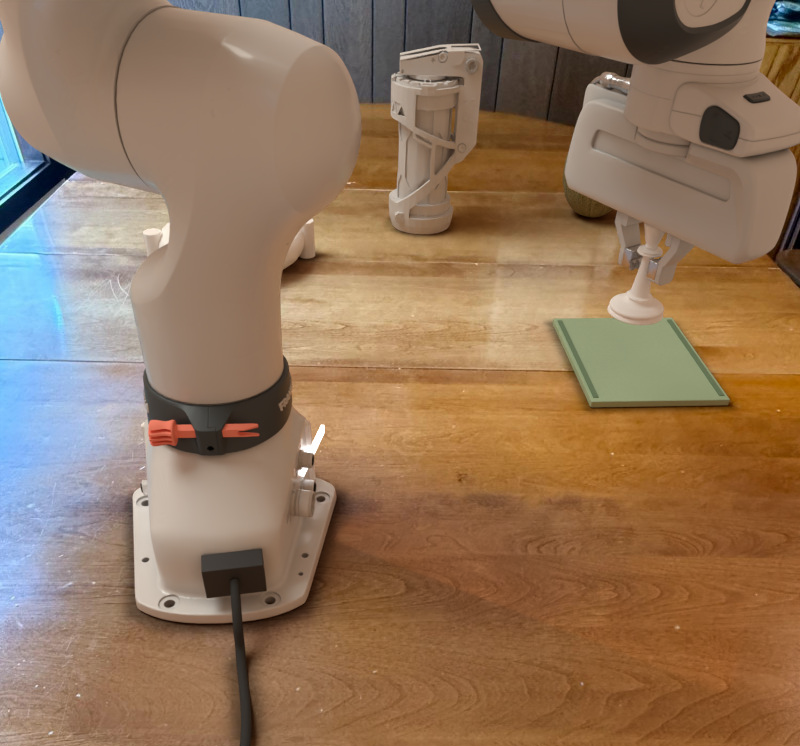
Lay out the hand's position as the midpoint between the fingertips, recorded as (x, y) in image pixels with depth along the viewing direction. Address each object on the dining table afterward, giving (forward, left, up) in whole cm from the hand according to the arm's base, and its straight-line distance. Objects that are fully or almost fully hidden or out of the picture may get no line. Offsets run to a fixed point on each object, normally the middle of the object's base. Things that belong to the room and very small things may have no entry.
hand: (644, 274), depth 67 cm
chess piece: (0, 0, -4) cm, 4 cm away
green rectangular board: (+19, -9, -19) cm, 29 cm away
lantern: (+64, +12, -20) cm, 68 cm away
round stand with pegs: (+49, +42, -20) cm, 67 cm away
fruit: (+68, -16, -20) cm, 72 cm away
